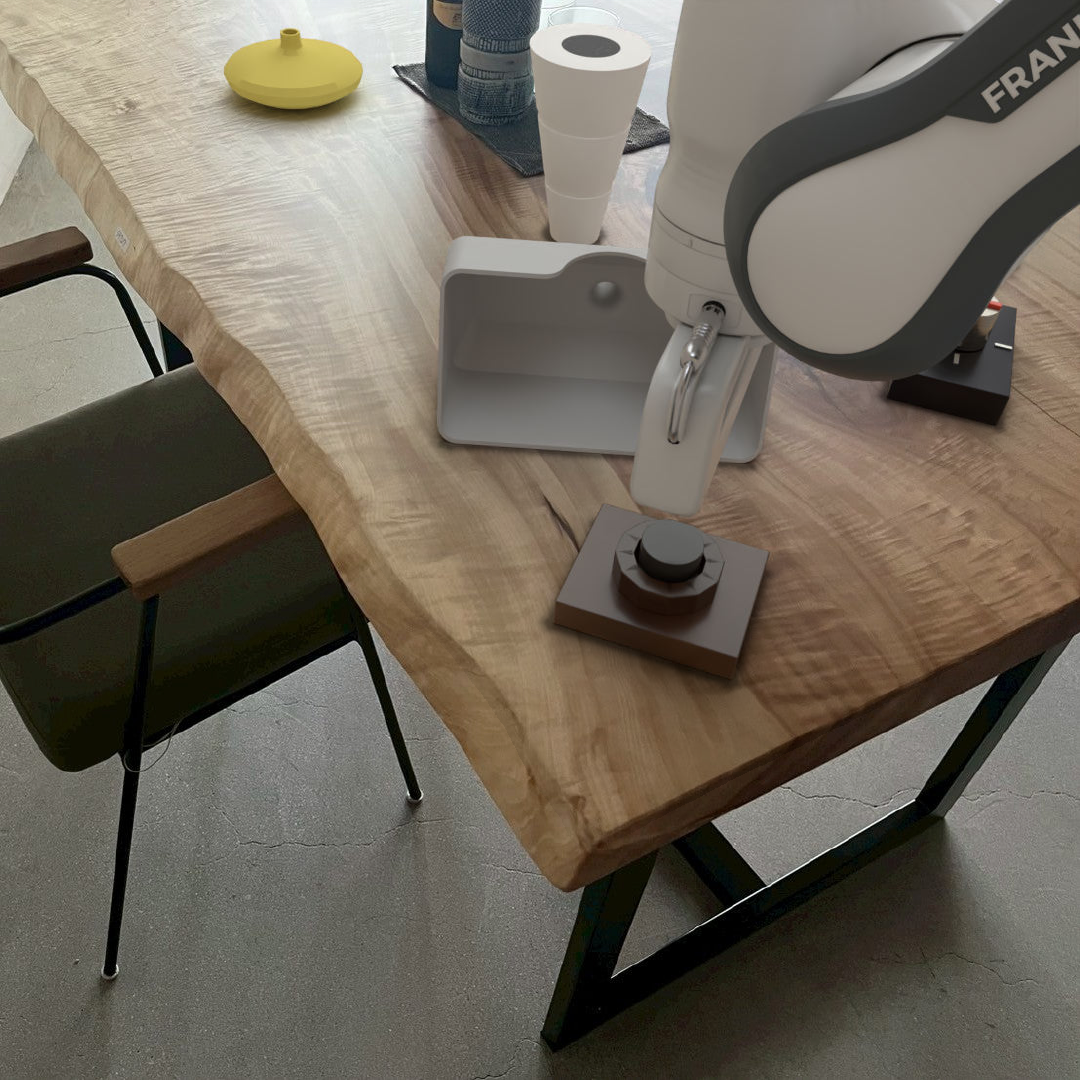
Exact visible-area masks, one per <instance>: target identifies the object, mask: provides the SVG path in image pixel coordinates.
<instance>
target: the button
mask: <svg viewBox="0 0 1080 1080" xmlns="http://www.w3.org/2000/svg"><path fill="white" fill-rule="evenodd" d="M672 520H673V519H672ZM672 520H665V521H659V522H656V523H653V524H651V525H650V526H649V527H648V528H646V530H645V531H644V533H643V535H642V539H641V545H640V551H639V563H640V566H641V567H642V569H643V570H644V571H645V572H646V573H647V574H648V575H649V576H650V577H652V578H654V579H656V580H659V581H663V582H666V583H681V582H685V581H687V580H689V579H691V578H692V577H694V576H695V575H696V573H697V572H698V570H699V567H700V563H701V559H702V555H703V551H704V542H703V539H702V537H701V535H700V534H699V533H698V532H697V531H696V530H695V529H694V528H693V527H691V526H689V525H690V524H689V525H687V524H688V523H686V522H683V523H682V521H679V520H676V521H672ZM685 523H686V524H685Z"/></svg>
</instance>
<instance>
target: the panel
mask: <svg viewBox="0 0 1080 1080" xmlns="http://www.w3.org/2000/svg"><path fill="white" fill-rule="evenodd" d="M1017 312H1018V308H1017V307H1014V306H1009V305H1005V304H1002V307H1001V310H1000V313H999V315H998V317H997V320H996V322H995V324H994V327H993V329H992V331H991V334H990V336H989V338H988V341H987V343H986V345H985V346H984V347H983V348H982V349H980V350H977V351H960V350H956V349H954V350H953V351H952V352H951V353H950V354H949V355H948V356H946V357H945V358H944V359H943V360H941V361H940V362H939V363H937V364H936V365H934V366H932V367H931V368H929V369H927V370H925V371H922V372H920V373H918V374H915V375H912V376H909V377H906V378H902V379H897V380H891V381H889V383H888V388H887V392H886V398H887V399H889V400H895V401H899V402H901V403H906V404H910V405H914V406H919V407H922V408H926V409H929V410H934V411H938V412H941V413H944V414H945V413H946V414H949V415H953V416H956V417H957V416H958V417H962V418H965V419H968V420H972V421H973V420H974V421H977V422H981V423H985V424H988V425H993V426H997V425H998V423H999V421H1000V419H1001V417H1002V415H1003V412H1004V411H1005V408H1006V406H1007V404H1008V402H1009V400H1010V398H1011V389H1012V387H1011V386H1012V375H1013V363H1014V361H1013V360H1014V350H1015V339H1016V325H1017Z"/></svg>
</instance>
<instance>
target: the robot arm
mask: <svg viewBox="0 0 1080 1080" xmlns="http://www.w3.org/2000/svg"><path fill="white" fill-rule="evenodd" d="M680 9H681V10H680V15H679V20H678V25H677V31H676V36H675V41H674V46H673V52H672V59H671V65H670V73H669V80H668V86H667V87H668V88H667V96H666V117H667V123H668V129H669V146H668V153H667V157H666V160H665V162H664V165H663V166H662V169H661V171H660V173H659V175H658V179H657V182H656V185H655V189H654V197H653V203H652V206H653V207H652V215H651V221H650V222H651V223H650V228H649V229H650V230H649V237H648V244H647V249H648V251H647V259H646V267H645V275H644V283H645V287H646V290H647V292H648V294H649V296H650V297H651V299H652V300H653V301H654V302H655V304H656V305H658V306H659V307H660V308H661V309H662V310H663V311H664V312H665V316H666V319H667V321H668V322H669V324H670V325H671V326H672V327H673V328H674V329H675V331H674V333H673V335H672V337H671V339H670V341H669V343H668V345H667V347H666V349H665V351H664V353H663V355H662V357H661V359H660V361H659V363H658V365H657V367H656V370H655V372H654V375H653V378H652V381H651V384H650V387H649V391H648V394H647V398H646V402H645V406H644V410H643V415H642V420H641V425H640V430H639V436H638V441H637V446H636V452H635V456H634V458H633V464H632V469H631V476H630V481H629V493H630V496H631V498H632V500H633V502H634V503H636V504H638V505H640V506H642V507H646V508H649V509H652V510H656V511H658V512H662V513H665V514H670V515H674V516H678V517H683V518H693V517H696V516H697V515H698V514H699V512H700V510H701V509H702V506H703V504H704V501H705V500H706V497H707V494H708V491H709V489H710V487H711V483H712V481H713V478H714V475H715V473H716V470H717V468H718V465H719V463H720V462H719V460H720V457H721V455H722V452H723V450H724V447H725V444H726V442H727V439H728V437H729V434H730V431H731V429H732V426H733V424H734V421H735V418H736V416H737V413H738V410H739V408H740V405H741V403H742V400H743V397H744V395H745V392H746V390H747V387H748V384H749V382H750V379H751V376H752V374H753V371H754V369H755V366H756V363H757V361H758V358H759V356H760V353H761V350H762V348H763V346H764V345H767V344H769V343H771V342H774V343H775V344H776V345H777V346H779V349H781V350H782V351H784V352H785V353H787V354H788V355H789V356H791V357H793V358H794V359H796V360H798V361H800V362H802V363H803V364H806V365H808V366H809V367H812V368H814V369H817V370H820V371H822V372H825V373H827V374H831V375H834V376H837V377H840V378H844V379H849V380H853V381H860V382H890V381H891V380H897V379H902V378H906V377H909V376H912V375H915V374H918V373H920V372H922V371H925V370H927V369H929V368H931V367H932V366H934V365H936V364H937V363H939V362H940V361H941V360H943V359H944V358H945V357H946V356H948V355H949V354H950V353H951V352H952V351H953V350H954V349H955V348H956V347H957V346H958V345H959V344H960V343H961V342H962V340H963V339H964V338H965V337H966V335H967V334H968V333H969V331H970V330H971V329H972V327H973V326H974V325H975V323H976V322H977V320H978V319H979V318H980V316H981V315H982V314H983V312H984V311H985V310H986V308H987V306H988V305H989V303H990V301H991V300H992V298H993V296H994V297H995V295H996V294H997V292H998V290H999V289H1000V288H1001V287H1002V286H1003V285H1004V284H1005V282H1006V281H1007V280H1008V279H1009V277H1010V276H1011V275H1012V274H1013V273H1014V271H1016V269H1017V268H1018V267H1019V266H1020V265H1021V263H1022V262H1023V261H1024V260H1025V259H1026V258H1027V256H1028V255H1030V253H1031V252H1032V250H1033V249H1034V248H1035V247H1036V246H1037V245H1038V244H1039V243H1040V242H1041V240H1042V239H1043V238H1044V237H1045V236H1046V234H1047V233H1049V231H1050V230H1051V229H1052V228H1053V226H1055V224H1057V223H1058V222H1059V221H1060V220H1061V219H1063V218H1064V217H1065V216H1066V215H1068V214H1069V213H1070V212H1072V211H1073V210H1075V209H1076V208H1077V207H1079V206H1080V0H1002V1H1001V2H999V1H997V0H683V1H682V4H681V8H680Z"/></svg>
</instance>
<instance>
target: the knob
mask: <svg viewBox="0 0 1080 1080" xmlns="http://www.w3.org/2000/svg"><path fill="white" fill-rule="evenodd" d="M1002 305H1003V303H1002V302H1000V301H999V300H998V298H996V296H995V295H994V296H993V298H992V300H991V301H990V303H989V305H988V306H987V308H986V310H985V311H984V312H983V314H982V315H981V316H980V318H979V319H978V320H977V322H976V323H975V325H974V326H973V327H972V329H971V330H970V331H969V333H968V334H967V335H966V337H965V338H964V339H963V340H962V342H961V343H960V344H959V345H958V346H957V347H956V348H955V349H956V350H960V351H977V350H980V349H982V348H983V347H984V346H985V345H986V343H987V341H988V338H989V336H990V334H991V331H992V329H993V327H994V324H995V322H996V320H997V317H998V315H999V313H1000V310H1001V307H1002Z"/></svg>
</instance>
